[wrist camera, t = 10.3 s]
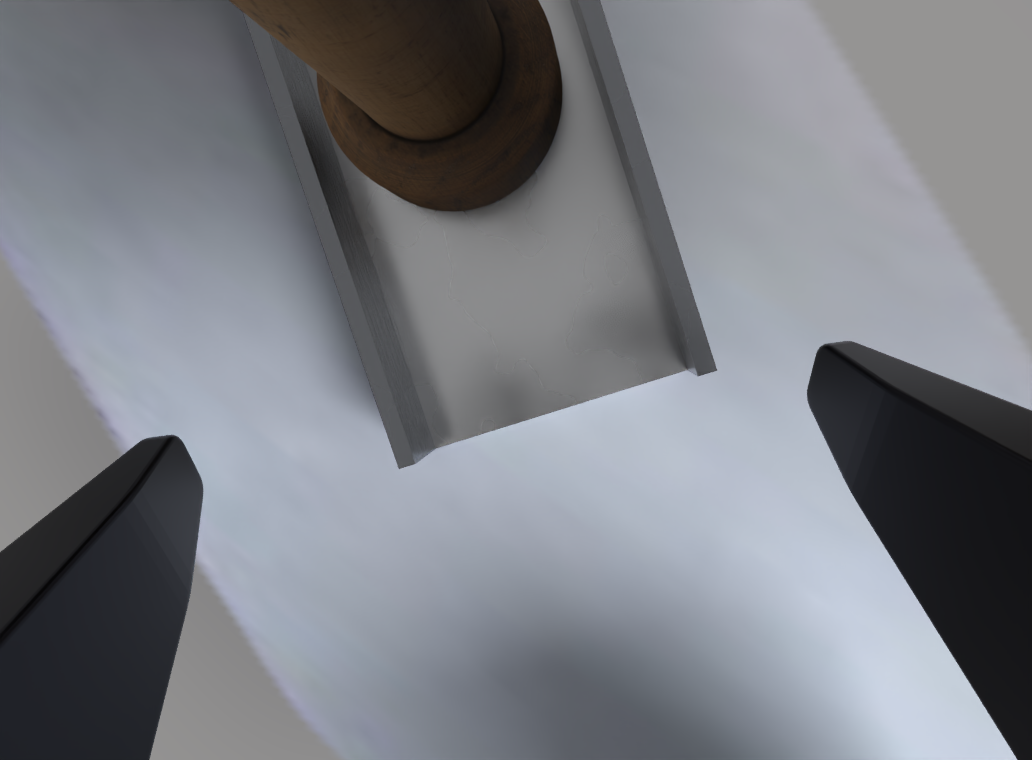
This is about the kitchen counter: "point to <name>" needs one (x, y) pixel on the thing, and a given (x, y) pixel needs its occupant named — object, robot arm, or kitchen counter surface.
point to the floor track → (503, 261)
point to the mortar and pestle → (429, 89)
